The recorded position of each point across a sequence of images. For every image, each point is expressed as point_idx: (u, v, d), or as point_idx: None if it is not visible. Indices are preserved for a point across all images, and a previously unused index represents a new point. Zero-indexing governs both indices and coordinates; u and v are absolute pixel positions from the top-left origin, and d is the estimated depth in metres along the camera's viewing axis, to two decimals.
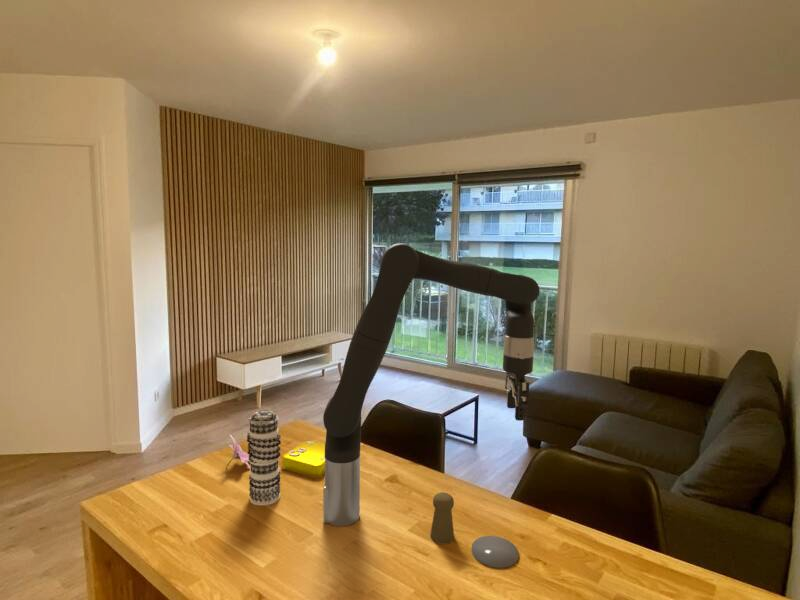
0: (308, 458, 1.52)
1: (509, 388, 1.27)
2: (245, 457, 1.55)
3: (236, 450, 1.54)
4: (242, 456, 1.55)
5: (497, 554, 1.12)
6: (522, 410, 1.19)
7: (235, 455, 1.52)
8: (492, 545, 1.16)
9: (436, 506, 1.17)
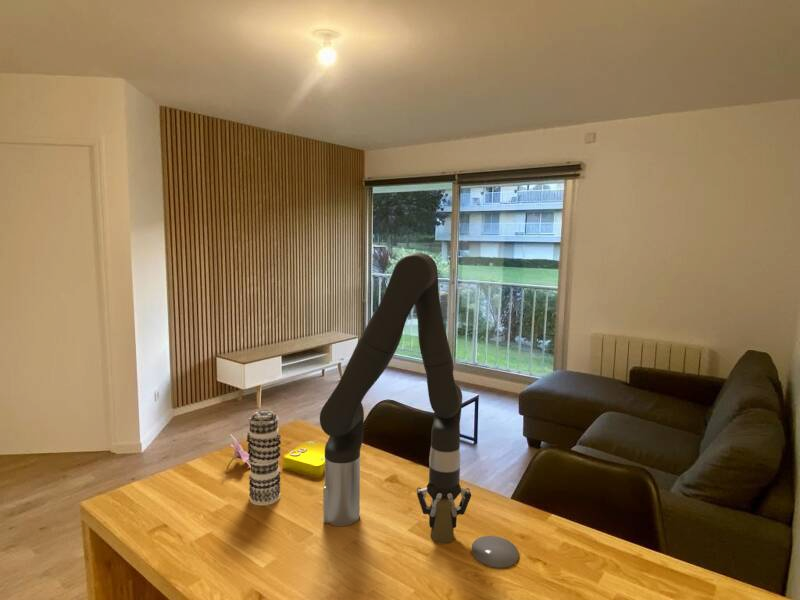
0: (308, 458, 1.52)
1: None
2: (246, 457, 1.55)
3: (237, 450, 1.55)
4: (243, 456, 1.55)
5: (497, 554, 1.12)
6: None
7: (236, 455, 1.52)
8: (492, 545, 1.16)
9: (436, 506, 1.17)
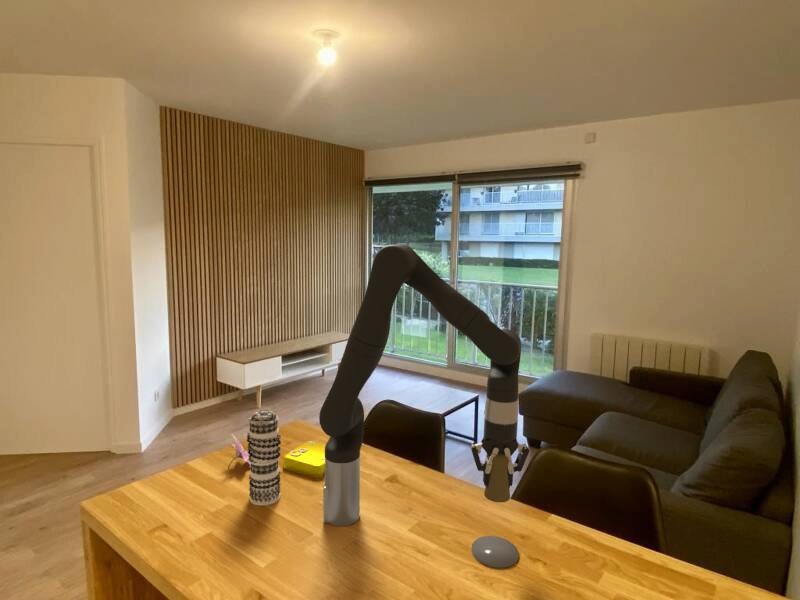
0: (309, 458, 1.52)
1: None
2: (247, 456, 1.56)
3: (238, 449, 1.55)
4: (244, 455, 1.55)
5: (497, 554, 1.12)
6: None
7: (237, 454, 1.52)
8: (492, 545, 1.16)
9: (492, 462, 1.09)
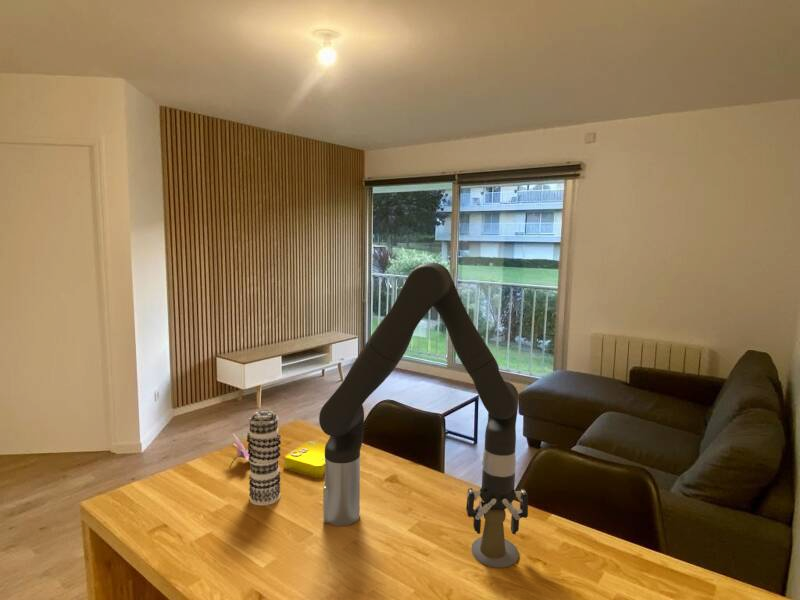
0: (309, 458, 1.52)
1: None
2: (248, 455, 1.56)
3: (239, 449, 1.55)
4: (245, 454, 1.56)
5: None
6: None
7: (239, 454, 1.53)
8: None
9: (488, 518, 1.11)
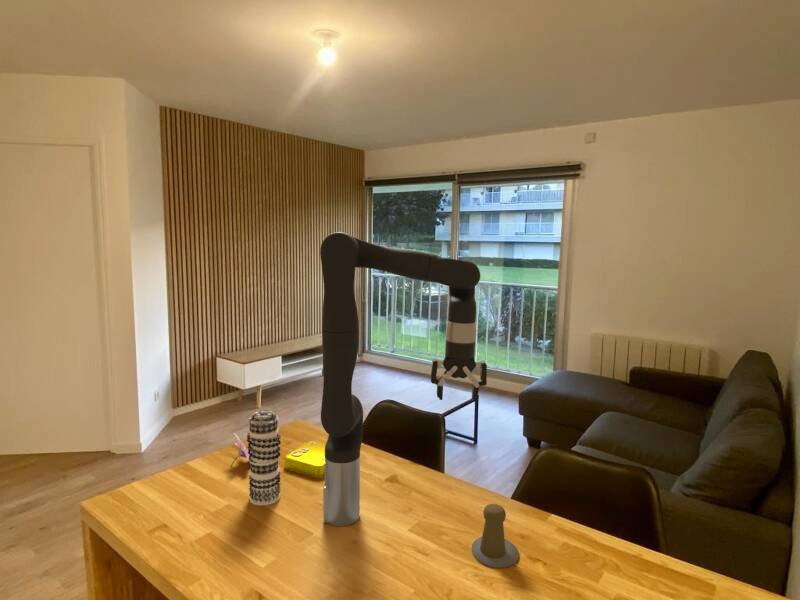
0: (310, 458, 1.52)
1: None
2: None
3: (240, 448, 1.56)
4: (246, 454, 1.56)
5: None
6: None
7: (240, 453, 1.53)
8: None
9: (488, 518, 1.11)
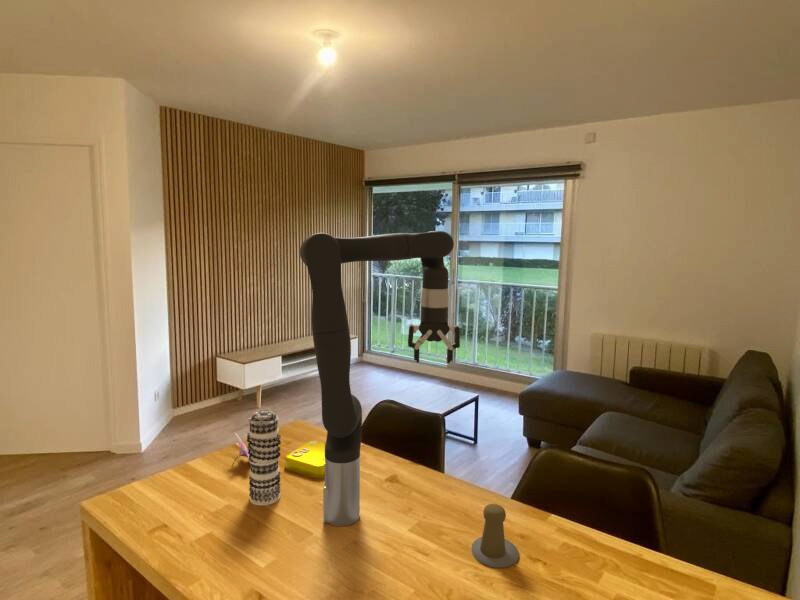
0: (310, 458, 1.52)
1: None
2: None
3: (241, 448, 1.56)
4: (247, 454, 1.56)
5: None
6: None
7: (241, 453, 1.53)
8: None
9: (488, 518, 1.11)
